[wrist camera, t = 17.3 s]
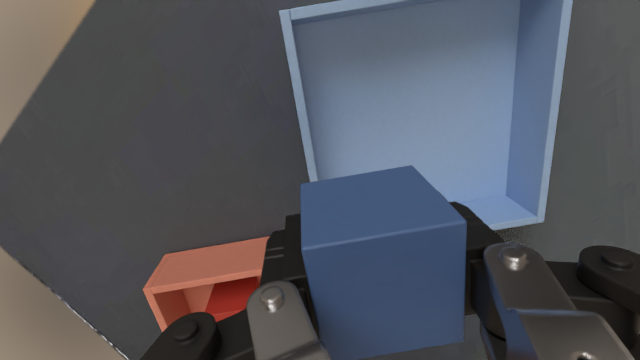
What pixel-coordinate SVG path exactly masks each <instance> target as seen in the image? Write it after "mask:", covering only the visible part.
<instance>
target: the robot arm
mask: <svg viewBox="0 0 640 360" xmlns="http://www.w3.org/2000/svg"><path fill="white" fill-rule="evenodd" d="M438 192H439V191H438ZM439 193H440V192H439ZM440 194H441V193H440ZM441 195H442V194H441ZM442 196H443V195H442ZM443 197H444V196H443ZM444 198H445V197H444ZM445 199H446V198H445ZM446 200H447V199H446ZM449 203H450V204H451V205H452V206H453V207H454V208H455V209H456V210H457V211H458V213H459V214H460V215H461V216H462V217H463V218H464V219H465V220H466V222H467V240H466V281H465V315H471V314H477V315H478V317H479V318H480V334H481V338H482V341H483V344H484V348H485V351H486V355H487V358H488V360H640V334H639V332H640V255H639V254H637V253H634V252H631V251H629V250H625V249H622V248H617V247H612V246H591V247H587V248H585V249H583V250H582V251H581V252H580V256H579V261H578V263H573V262H551V261H544V259H543V258H542V256H541V255H540V254H539V253H537V252H536V251H534V250H533V249H531V248H529V247H526V246H523V245H520V244H515V243H506V242H505V241H504V240H503V239H501V238H500V237H499V236H498V235H497V234H496V233H495V232H494V231H493V230H492V229H491V228H490V227H489V226H488V225H487V224H485V223H483V221H482V220H481V219H480V218H479V217H478V216H476V214H475V213H474V212H473V211H472V210H470V209H469V208H468V207H467V206H464V205H462V204H460V203H458V202H455V201H454V202H449ZM319 340H320V336H319V332H318V327H317V322H316V318H315V313H314V308H313V303H312V299H311V294H310V289H309V285H308V280H307V275H306V271H305V266H304V261H303V256H302V252H301V214H295V215H289V216H286V225H285V230H280V231H275V232H273V233H272V235H271V236H270V237H269V238H268V240H267V242H266V249H265V255H264V261H263V267H262V274H261V280H260V286H259V287H258V288H257V289H256V290H255V291H253V292H252V294H251V295H250V296H249V298H248V300H247V304H246V308H245V309H244V310H242V311H240V312H238V313H236V314H234V315H232V316H230V317H227V318H225V319H223V320H220V321H218V322H216V320H215V318H214V317H213V315H211V314H210V313H207V312H194V313H190V314H187V315H185V316H183V317H180V318H179V319H177V320H176V321H174V322H173V323H171V324H170V325H169V326H168V327H167V328H166V329H165V330H164V331H163V333H162V334H161V335H160V336H159V337H158V339H157V340H156V341H155V342H154V343H153V345H152V346H151V347H150V348H149V349H148V351H147V352H146V353H145V354H144V356H143V357H142V358H141V359H140V360H331V358H330V355H329V353H328V351H327V348H326V346H325V344H324V343H323V341H319Z"/></svg>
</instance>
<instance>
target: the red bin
mask: <svg viewBox="0 0 640 360" xmlns="http://www.w3.org/2000/svg"><path fill="white" fill-rule="evenodd" d="M269 237H270V236H268V237H262V238H256V239H251V240H245V241H239V242H233V243H227V244H222V245H216V246H210V247H204V248H198V249H193V250H187V251H181V252H175V253H169V254H165V255H164V257H163V258H162V260H161V261H160V263H159V265H158V266H157V268H156V269H155V271H154V272H153V274H152V276H151V277H150V279H149V280H148V282H147V284H146V285H145V287H144V288H143V291H144V294H145V296H146V298H147V300H148V302H149V304H150V306H151V309H152V311H153V313H154V315H155V317H156V319H157V321H158V324H159V326H160V328H161V330H162V332H163V331H164V330H165V329H166V328H167V327H168V326H169V325H170V324H171V323H173V322H174V321H176V320H177V319H179V318H180V317H183V316H185V315H187V314H190V313H194V312H205V309H206V306H207V304H208V301H209V298H210V295H211V292H212V289H213V286H214V284H215V283H221V282H226V281H232V280H238V279H244V278H249V277H255V276H257V278H258V281H259V285H260V280H261V274H262V267H263V261H264V255H265V249H266V242H267V240H268V238H269Z"/></svg>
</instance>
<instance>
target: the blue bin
mask: <svg viewBox="0 0 640 360" xmlns="http://www.w3.org/2000/svg"><path fill="white" fill-rule="evenodd" d="M572 3H573V0H340V1H334V2H328V3H322V4H316V5H310V6H304V7H298V8H292V9H290V10H289V9H286V10H280V11H279V15H280V21H281V26H282V32H283V37H284V43H285V48H286V54H287V59H288V65H289V70H290V76H291V81H292V87H293V92H294V98H295V103H296V109H297V114H298V120H299V125H300V131H301V136H302V142H303V147H304V153H305V158H306V164H307V169H308V175H309V180H310V182H314V181H320V180H326V179H332V178H338V177H344V176H350V175H356V174H362V173H368V172H374V171H380V170H386V169H392V168H398V167H403V166H409V165H412V166H413V167H414V168H415V169H416V170H417V171H418V172H419V173H420V174H421V175H422V176H423V177H424V178H425V179H426V180H427V181H428V182H429V183H430V184H431V185H432V186H433V187H434V188H435V189H436V190H437V191H439V192H440V193H441V194H442V195H443V196H444V197H445V198H446V199H447V201H448V202H454V201H455V202H458V203H460V204H462V205H464V206H467V207H468V208H469V209H470V210H472V211H473V212H474V213H475V214H476V216H478V217H479V218H480V219H481V220H482V221H483V223H485V224H487V225H488V226H489V227H490V228H491V229H492V230H493V231H494V230H500V229H506V228H511V227H517V226H523V225H529V224H535V223H541V222H544V216H545V209H546V201H547V194H548V186H549V178H550V171H551V163H552V155H553V148H554V140H555V132H556V125H557V117H558V110H559V102H560V94H561V87H562V79H563V71H564V64H565V56H566V48H567V41H568V33H569V25H570V18H571V10H572Z"/></svg>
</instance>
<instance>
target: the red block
mask: <svg viewBox="0 0 640 360" xmlns="http://www.w3.org/2000/svg"><path fill="white" fill-rule="evenodd" d="M259 286H260V285H259V281H258V278H257V276H255V277H249V278H244V279H238V280H232V281H226V282H221V283H215V284H214V286H213V289H212V292H211V295H210V298H209V301H208V304H207V306H206V309H205V312H207V313H210V314H211V315H213V317H214V318H215V320H216V322H218V321H220V320H223V319H225V318H227V317H230V316H232V315H234V314H236V313H238V312H240V311H242V310H244V309H245V308H246V304H247V300H248V298H249V296H250V295H251V294H252V292H253V291H255V290H256V289H257V288H258V287H259Z"/></svg>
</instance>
